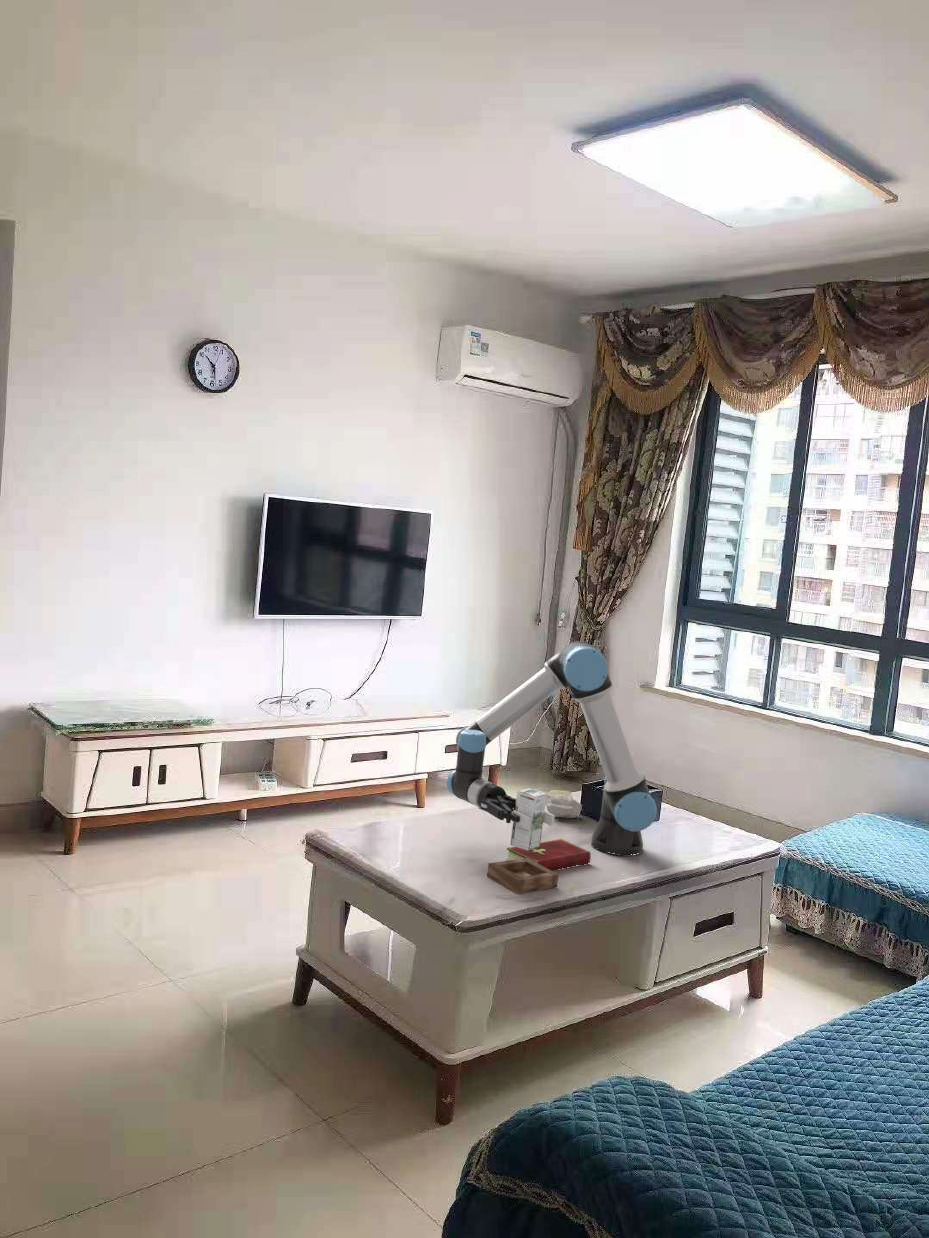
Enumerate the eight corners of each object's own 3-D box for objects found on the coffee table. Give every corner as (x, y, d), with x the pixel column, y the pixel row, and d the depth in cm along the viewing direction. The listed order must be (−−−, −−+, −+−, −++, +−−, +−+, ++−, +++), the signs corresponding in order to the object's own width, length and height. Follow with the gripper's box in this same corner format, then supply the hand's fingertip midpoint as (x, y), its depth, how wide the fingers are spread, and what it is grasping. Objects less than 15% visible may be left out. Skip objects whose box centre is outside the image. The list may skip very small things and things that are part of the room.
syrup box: (521, 841, 268) (528, 787, 267) (540, 847, 265) (547, 792, 264) (509, 845, 264) (516, 790, 262) (529, 851, 260) (535, 796, 259)
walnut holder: (525, 870, 274) (527, 857, 274) (557, 887, 264) (558, 874, 263) (486, 876, 267) (488, 863, 266) (517, 893, 256) (519, 880, 256)
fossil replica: (585, 820, 329) (566, 814, 337) (589, 795, 329) (569, 789, 337) (556, 820, 322) (537, 813, 330) (559, 794, 322) (540, 788, 331)
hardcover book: (589, 865, 285) (591, 851, 285) (534, 876, 272) (536, 860, 272) (559, 852, 295) (561, 837, 294) (505, 861, 281) (506, 846, 281)
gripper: (515, 807, 284) (569, 832, 266) (456, 812, 273) (508, 839, 254) (518, 780, 284) (572, 804, 265) (459, 785, 272) (511, 810, 253)
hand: (541, 821), depth 260 cm, fingers closed on syrup box, 7 cm apart
